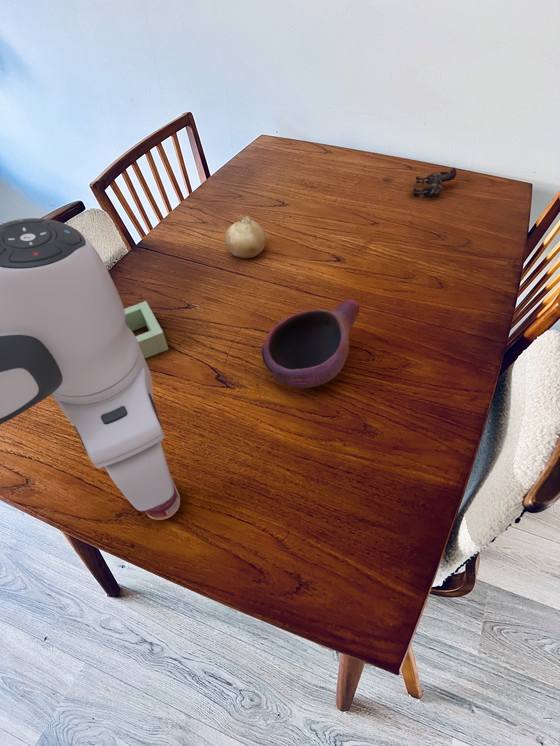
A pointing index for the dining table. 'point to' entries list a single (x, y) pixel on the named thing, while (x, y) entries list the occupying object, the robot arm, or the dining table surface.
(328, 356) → the bowl
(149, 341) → the holder
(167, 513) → the pill bottle
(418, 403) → the dining table surface
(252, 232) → the onion
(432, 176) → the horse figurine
